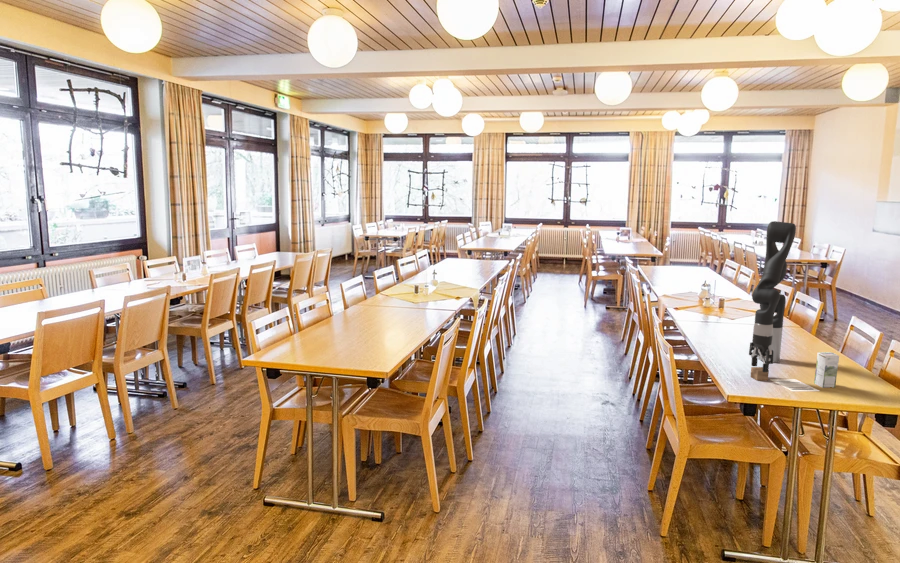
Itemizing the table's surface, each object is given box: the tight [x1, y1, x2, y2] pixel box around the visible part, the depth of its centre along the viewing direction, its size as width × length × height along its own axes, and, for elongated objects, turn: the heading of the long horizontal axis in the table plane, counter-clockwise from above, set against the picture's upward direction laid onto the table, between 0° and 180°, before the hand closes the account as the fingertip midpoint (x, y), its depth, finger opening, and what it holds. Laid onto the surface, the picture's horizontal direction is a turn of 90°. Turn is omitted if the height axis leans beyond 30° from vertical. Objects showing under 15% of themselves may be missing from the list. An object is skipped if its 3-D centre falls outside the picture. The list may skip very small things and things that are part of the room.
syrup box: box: [813, 351, 840, 389], centre depth 249 cm, size 6×6×14 cm
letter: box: [768, 378, 820, 393], centre depth 250 cm, size 16×12×1 cm
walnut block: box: [750, 366, 770, 382], centre depth 258 cm, size 5×5×5 cm
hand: (759, 369), depth 258 cm, fingers open, 8 cm apart
